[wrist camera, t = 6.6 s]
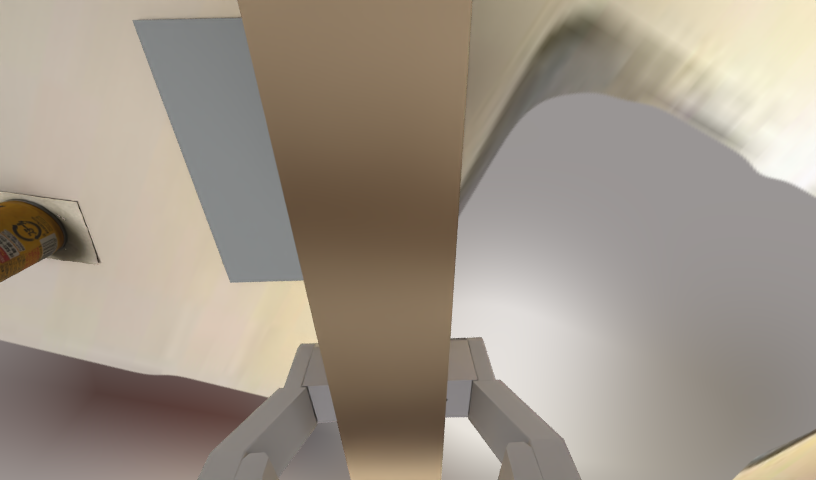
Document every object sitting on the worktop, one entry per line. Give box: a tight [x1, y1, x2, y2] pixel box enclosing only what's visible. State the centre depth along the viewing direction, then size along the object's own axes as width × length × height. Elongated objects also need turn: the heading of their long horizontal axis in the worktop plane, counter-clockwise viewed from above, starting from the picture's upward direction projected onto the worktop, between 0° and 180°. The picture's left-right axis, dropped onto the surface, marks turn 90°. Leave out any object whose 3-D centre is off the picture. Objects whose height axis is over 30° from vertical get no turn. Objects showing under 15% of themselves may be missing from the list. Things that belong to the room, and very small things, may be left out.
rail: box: [238, 0, 472, 480], centre depth 10 cm, size 20×3×3 cm, turn 1°
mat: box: [133, 18, 303, 283], centre depth 29 cm, size 24×10×1 cm, turn 1°
